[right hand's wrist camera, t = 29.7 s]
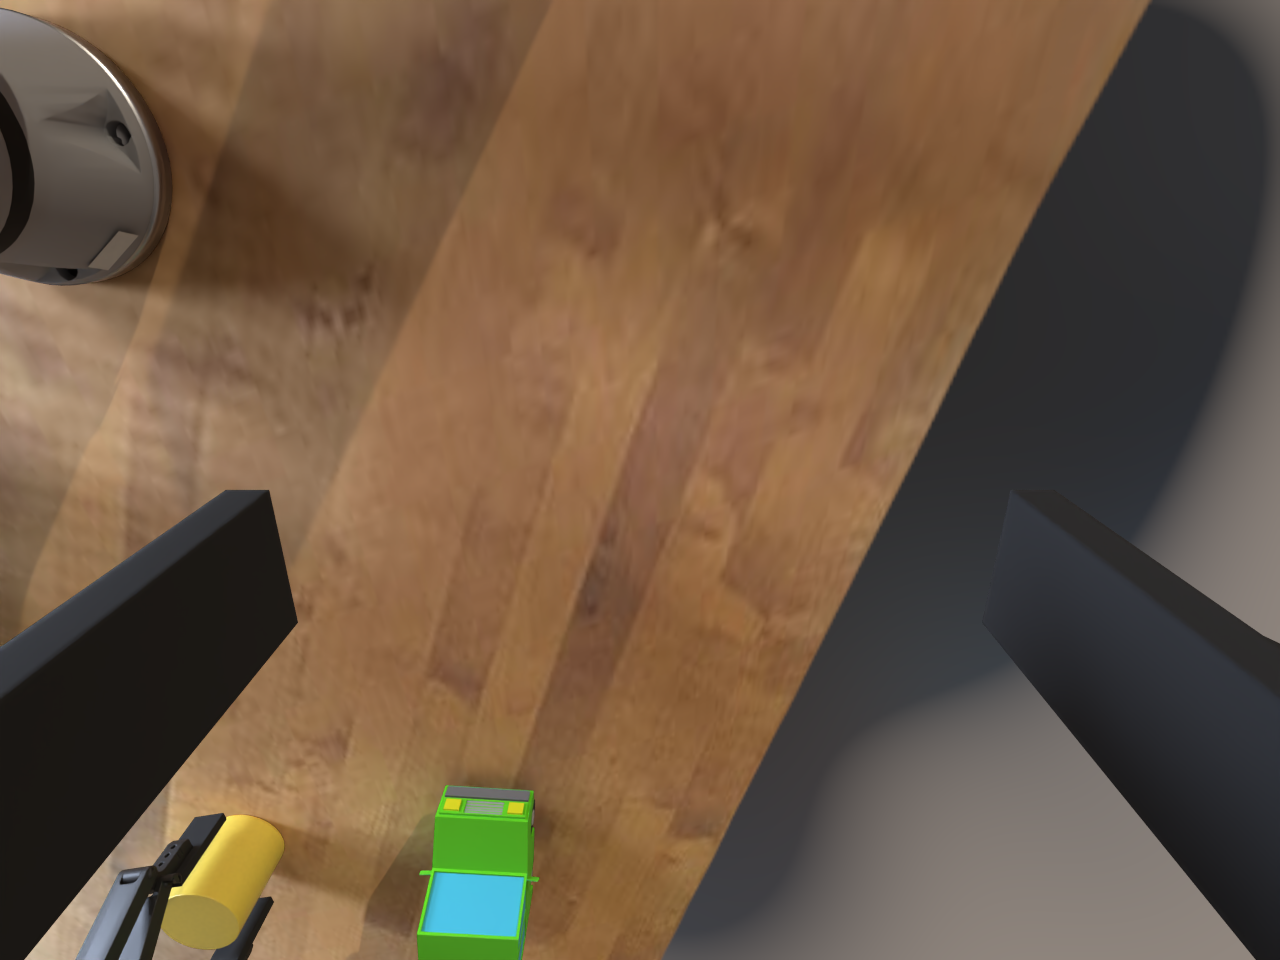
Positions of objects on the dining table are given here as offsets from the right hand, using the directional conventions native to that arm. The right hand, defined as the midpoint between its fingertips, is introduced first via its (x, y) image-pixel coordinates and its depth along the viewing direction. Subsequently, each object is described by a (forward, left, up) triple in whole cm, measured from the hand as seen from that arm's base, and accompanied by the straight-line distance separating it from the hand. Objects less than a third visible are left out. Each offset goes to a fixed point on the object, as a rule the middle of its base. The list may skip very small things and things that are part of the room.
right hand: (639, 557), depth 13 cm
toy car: (+17, -48, -37) cm, 62 cm away
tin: (-1, -63, -37) cm, 73 cm away
